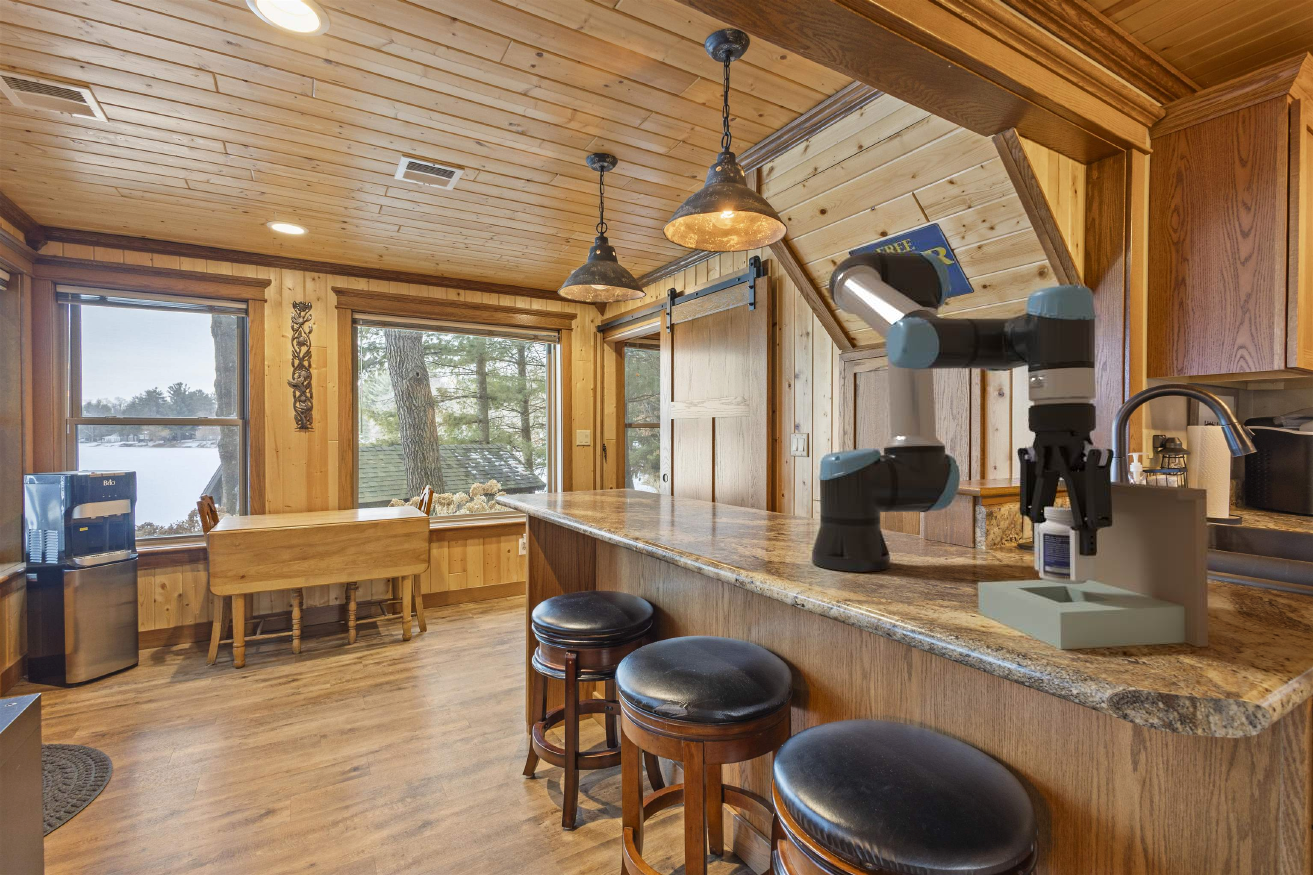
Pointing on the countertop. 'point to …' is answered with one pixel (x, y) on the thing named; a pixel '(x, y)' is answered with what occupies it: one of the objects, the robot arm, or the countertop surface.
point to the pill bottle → (1056, 545)
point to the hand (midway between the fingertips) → (1063, 574)
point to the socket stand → (1122, 579)
